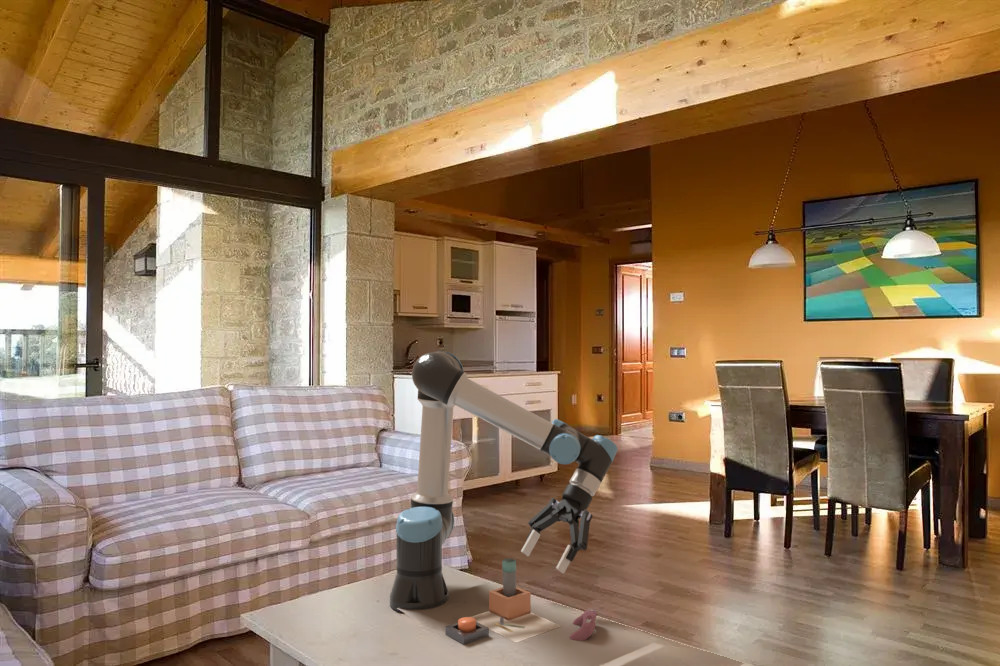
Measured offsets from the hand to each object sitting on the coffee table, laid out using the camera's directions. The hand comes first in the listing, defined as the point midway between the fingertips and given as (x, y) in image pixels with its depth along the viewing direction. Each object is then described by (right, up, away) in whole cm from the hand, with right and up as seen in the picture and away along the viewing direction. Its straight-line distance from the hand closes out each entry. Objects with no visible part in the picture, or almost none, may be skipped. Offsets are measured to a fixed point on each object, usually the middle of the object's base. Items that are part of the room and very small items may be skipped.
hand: (541, 562), depth 180 cm
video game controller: (+9, -11, -19) cm, 24 cm away
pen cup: (-8, -10, -8) cm, 15 cm away
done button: (-18, -8, -21) cm, 29 cm away
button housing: (-18, -11, -21) cm, 30 cm away
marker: (-8, -9, -8) cm, 14 cm away
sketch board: (-7, -11, -13) cm, 19 cm away
